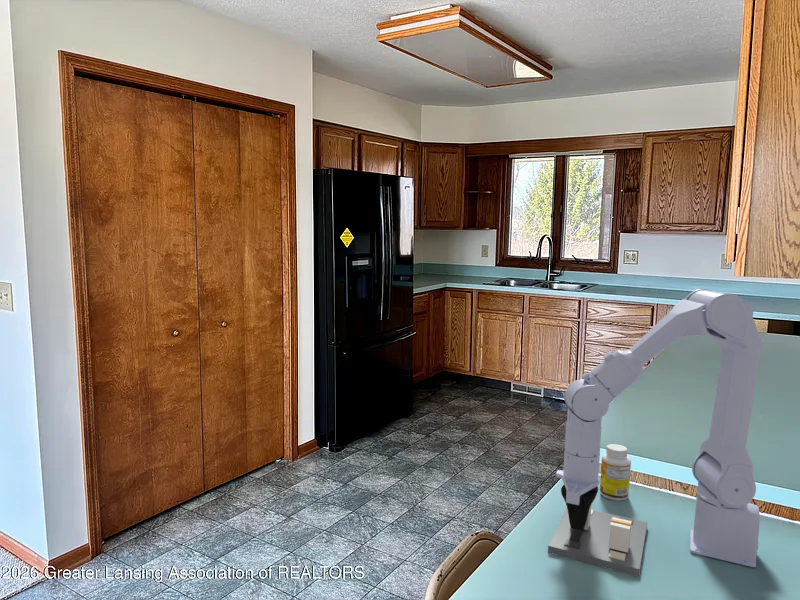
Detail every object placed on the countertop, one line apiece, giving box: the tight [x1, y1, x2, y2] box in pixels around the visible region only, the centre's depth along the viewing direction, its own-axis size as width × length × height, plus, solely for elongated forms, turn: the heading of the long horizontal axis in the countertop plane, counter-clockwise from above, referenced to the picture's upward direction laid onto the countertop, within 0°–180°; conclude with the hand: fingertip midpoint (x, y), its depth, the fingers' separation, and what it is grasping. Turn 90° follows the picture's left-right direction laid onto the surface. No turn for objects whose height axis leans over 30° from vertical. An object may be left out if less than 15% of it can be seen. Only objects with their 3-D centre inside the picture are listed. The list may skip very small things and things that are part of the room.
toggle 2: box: [609, 517, 632, 553], centre depth 95 cm, size 3×3×4 cm
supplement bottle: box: [599, 443, 632, 501], centre depth 117 cm, size 6×6×10 cm
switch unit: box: [547, 507, 648, 577], centre depth 100 cm, size 14×17×1 cm
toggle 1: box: [584, 505, 592, 530], centre depth 102 cm, size 3×3×4 cm
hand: (577, 527), depth 99 cm, fingers closed
